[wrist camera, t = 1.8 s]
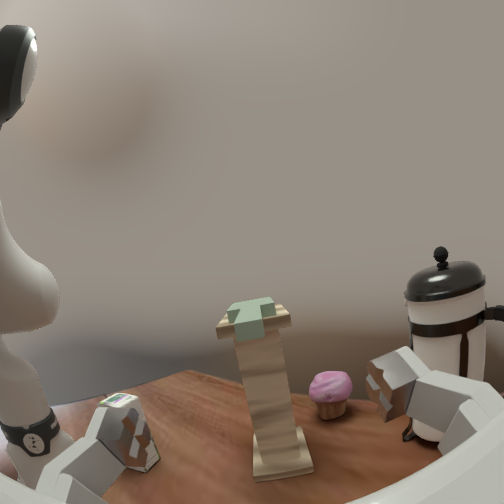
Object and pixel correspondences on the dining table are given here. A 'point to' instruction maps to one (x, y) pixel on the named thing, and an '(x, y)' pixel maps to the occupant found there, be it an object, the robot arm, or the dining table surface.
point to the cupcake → (330, 393)
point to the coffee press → (448, 323)
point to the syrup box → (133, 402)
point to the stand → (270, 401)
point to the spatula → (250, 317)
